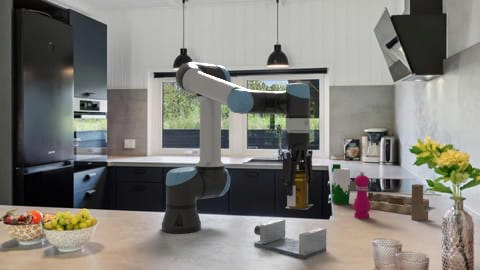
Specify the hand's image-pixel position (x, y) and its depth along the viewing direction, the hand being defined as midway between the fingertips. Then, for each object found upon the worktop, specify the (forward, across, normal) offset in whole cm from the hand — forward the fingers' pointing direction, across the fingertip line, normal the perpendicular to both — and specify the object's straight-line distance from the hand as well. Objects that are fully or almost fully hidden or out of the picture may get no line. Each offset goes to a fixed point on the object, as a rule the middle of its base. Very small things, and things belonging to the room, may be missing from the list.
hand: (297, 204), depth 133 cm
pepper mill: (+15, +59, +8) cm, 61 cm away
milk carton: (+15, +82, +32) cm, 89 cm away
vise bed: (+15, 0, +3) cm, 15 cm away
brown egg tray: (+15, +92, +9) cm, 94 cm away
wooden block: (+15, +72, -12) cm, 75 cm away
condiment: (+1, +1, 0) cm, 1 cm away
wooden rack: (+15, +92, +10) cm, 94 cm away
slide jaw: (+13, 0, +13) cm, 19 cm away
